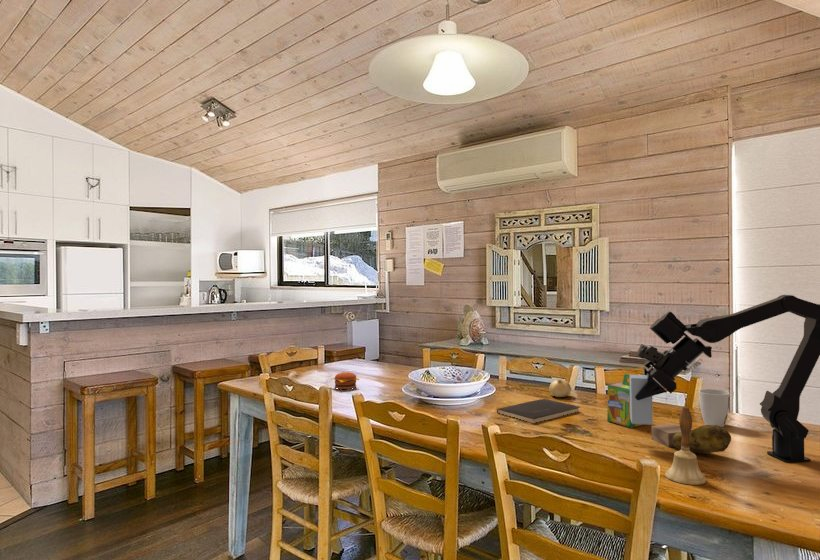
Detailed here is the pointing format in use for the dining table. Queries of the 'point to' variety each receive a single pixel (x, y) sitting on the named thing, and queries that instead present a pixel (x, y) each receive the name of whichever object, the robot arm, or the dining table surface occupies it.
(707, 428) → the potato
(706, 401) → the cup
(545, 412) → the hardcover book
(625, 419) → the chalk box
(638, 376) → the slate block
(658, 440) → the walnut box
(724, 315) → the robot arm
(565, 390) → the onion
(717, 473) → the dining table surface
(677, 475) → the hand bell
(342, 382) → the hamburger
